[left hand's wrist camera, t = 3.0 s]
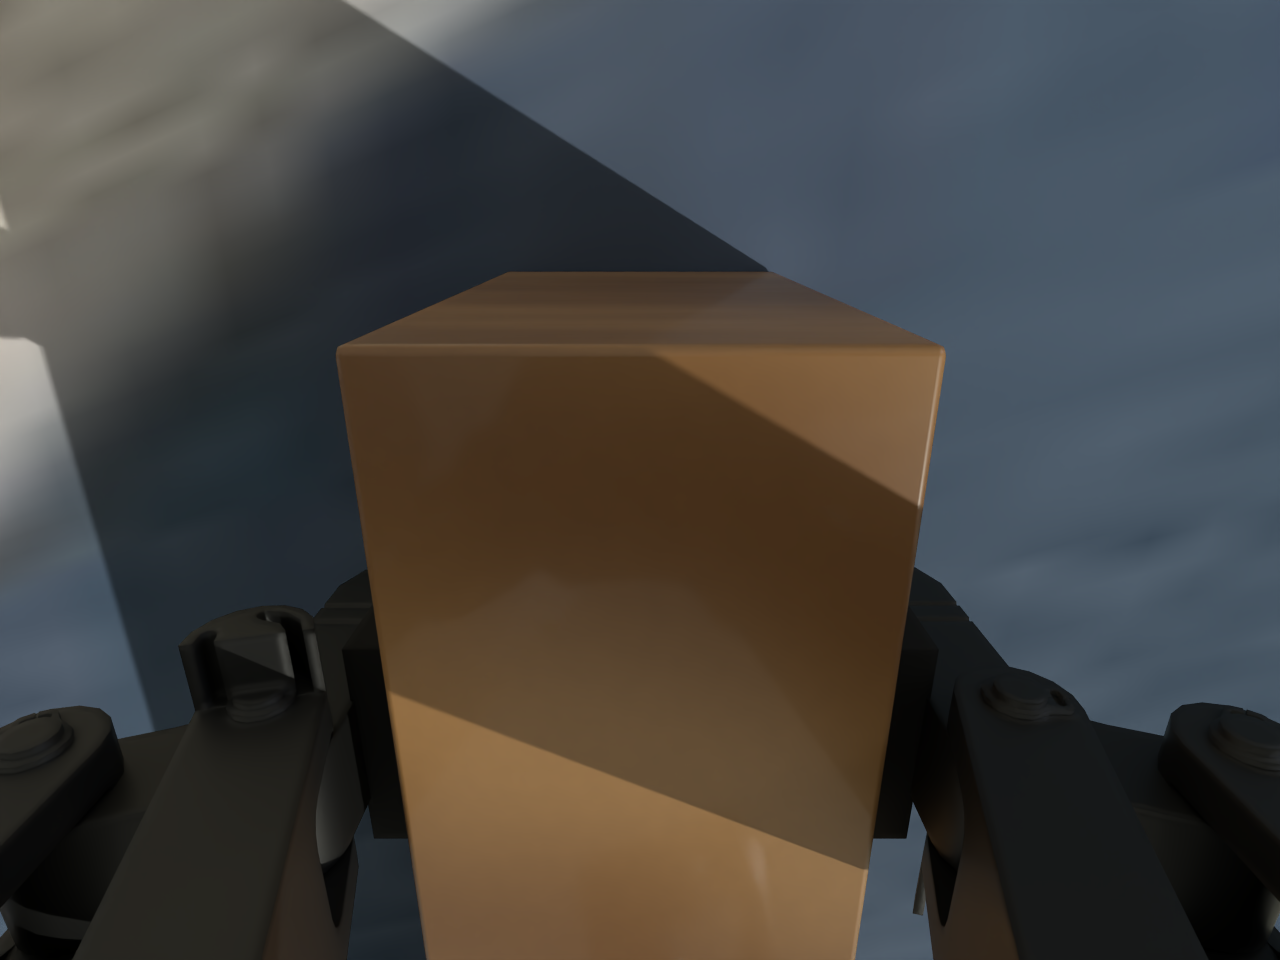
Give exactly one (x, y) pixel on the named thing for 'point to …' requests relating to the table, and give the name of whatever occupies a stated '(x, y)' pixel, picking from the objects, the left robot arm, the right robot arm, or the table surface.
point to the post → (640, 605)
